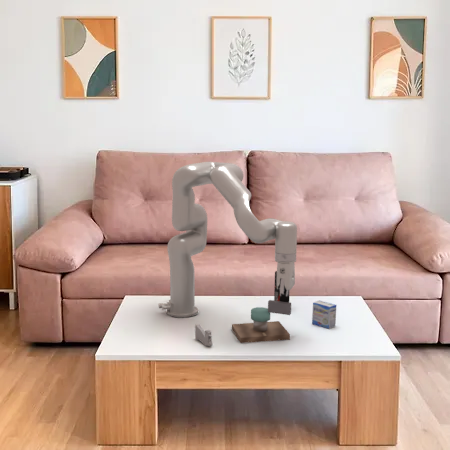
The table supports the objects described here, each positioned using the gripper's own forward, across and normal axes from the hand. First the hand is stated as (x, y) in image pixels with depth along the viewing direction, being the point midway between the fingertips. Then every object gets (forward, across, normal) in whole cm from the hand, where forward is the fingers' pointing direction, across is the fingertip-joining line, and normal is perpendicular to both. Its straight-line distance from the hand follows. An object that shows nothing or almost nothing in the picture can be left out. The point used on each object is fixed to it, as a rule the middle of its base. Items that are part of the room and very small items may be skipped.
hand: (284, 306), depth 247 cm
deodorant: (+11, +29, +7) cm, 32 cm away
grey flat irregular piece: (+11, -17, +25) cm, 32 cm away
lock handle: (+5, -3, +4) cm, 7 cm away
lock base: (+11, -2, +8) cm, 14 cm away
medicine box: (+11, +15, -12) cm, 22 cm away
